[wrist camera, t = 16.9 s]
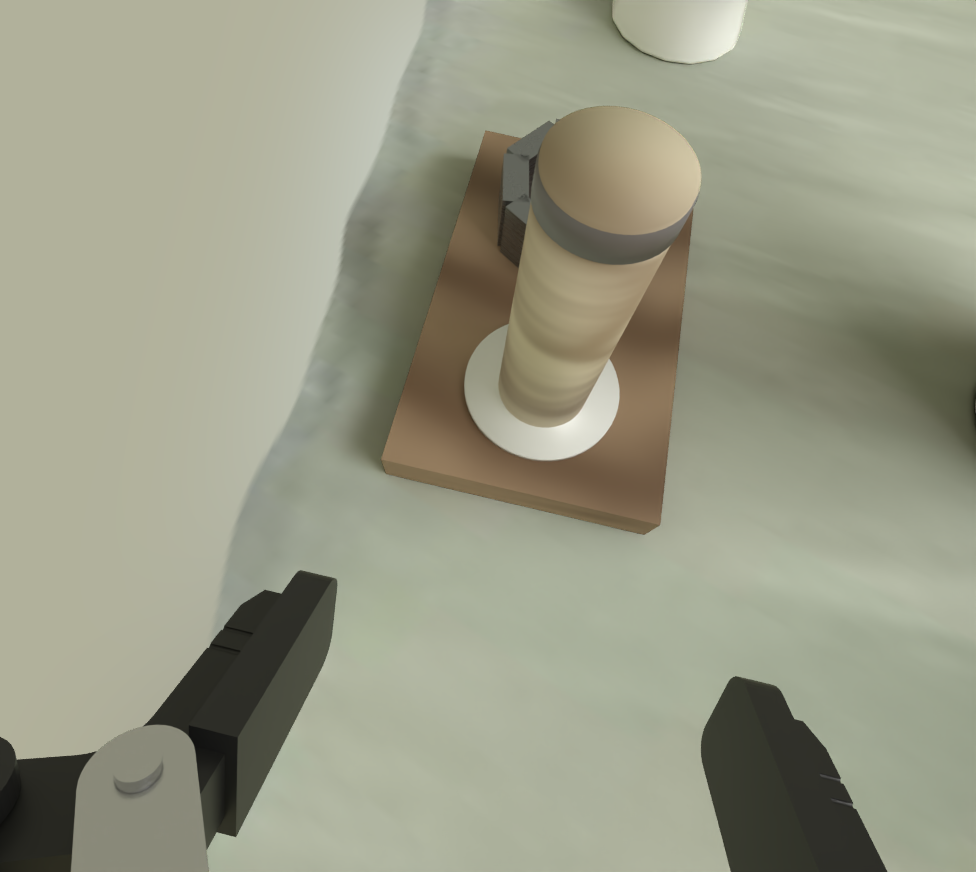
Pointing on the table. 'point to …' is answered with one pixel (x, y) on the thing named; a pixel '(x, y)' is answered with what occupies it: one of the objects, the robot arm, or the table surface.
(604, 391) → the rest disc
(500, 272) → the walnut board
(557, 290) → the wooden peg
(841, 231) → the table surface
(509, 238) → the ring
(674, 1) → the inkwell
